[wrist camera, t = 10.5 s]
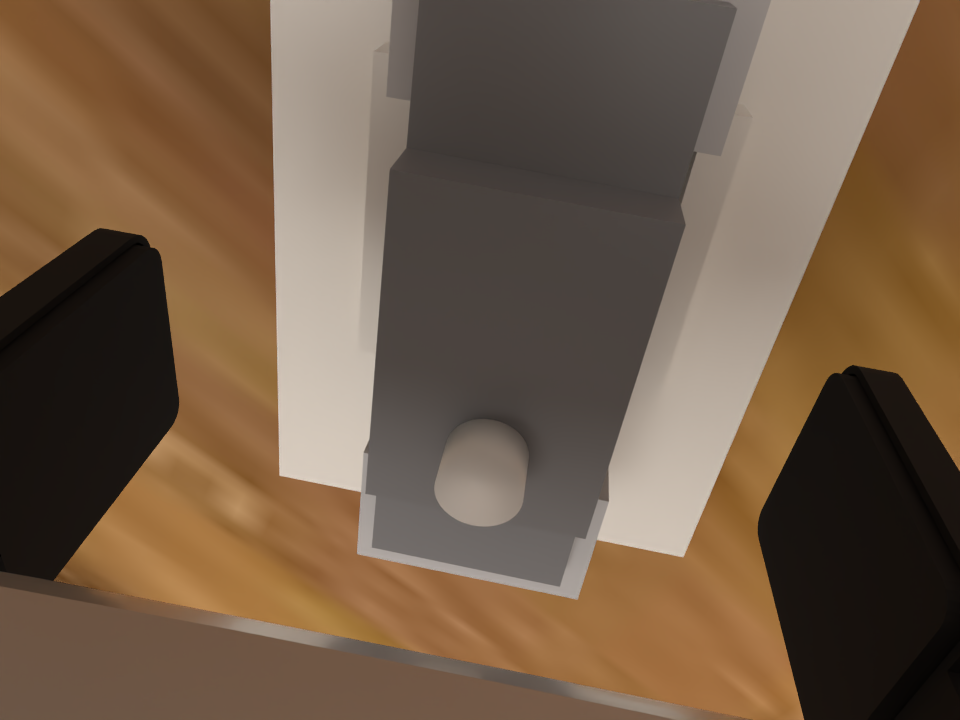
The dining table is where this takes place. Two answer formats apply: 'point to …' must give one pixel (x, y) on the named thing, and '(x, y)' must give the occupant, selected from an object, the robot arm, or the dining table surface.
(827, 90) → the cradle
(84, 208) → the dining table surface
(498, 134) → the servo
